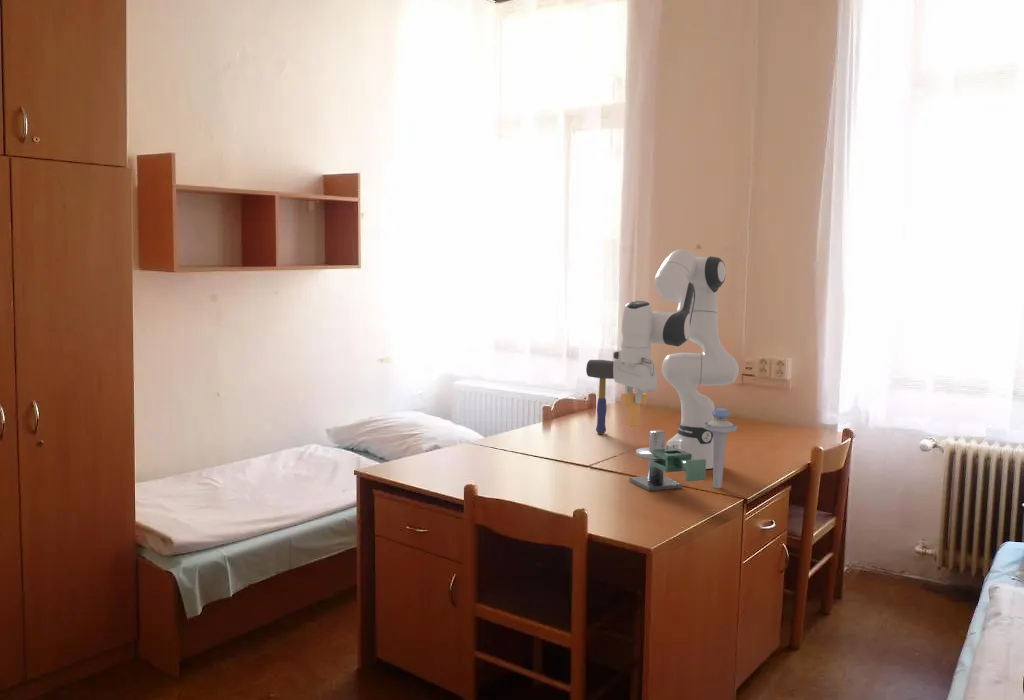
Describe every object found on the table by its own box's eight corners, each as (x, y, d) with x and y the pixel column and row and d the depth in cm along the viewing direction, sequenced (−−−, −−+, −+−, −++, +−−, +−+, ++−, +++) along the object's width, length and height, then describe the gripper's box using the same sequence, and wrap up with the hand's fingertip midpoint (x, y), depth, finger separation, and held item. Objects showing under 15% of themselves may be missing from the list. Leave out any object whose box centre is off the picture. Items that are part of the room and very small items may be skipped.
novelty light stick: (733, 484, 275) (737, 407, 273) (733, 493, 266) (737, 413, 263) (701, 482, 278) (705, 405, 275) (700, 490, 268) (704, 410, 266)
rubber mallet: (583, 434, 347) (585, 359, 344) (589, 430, 354) (591, 357, 351) (613, 437, 342) (615, 362, 339) (618, 433, 349) (621, 360, 346)
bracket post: (627, 480, 277) (629, 428, 276) (662, 477, 282) (664, 426, 280) (676, 506, 251) (678, 448, 249) (713, 502, 256) (716, 445, 254)
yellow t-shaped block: (619, 425, 260) (621, 393, 259) (642, 423, 263) (643, 392, 262) (623, 426, 258) (625, 395, 257) (646, 425, 261) (647, 394, 259)
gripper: (663, 360, 249) (661, 407, 251) (628, 351, 268) (626, 395, 270) (644, 360, 247) (642, 408, 249) (610, 352, 266) (608, 396, 267)
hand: (634, 401), depth 259 cm, fingers closed on yellow t-shaped block, 2 cm apart
